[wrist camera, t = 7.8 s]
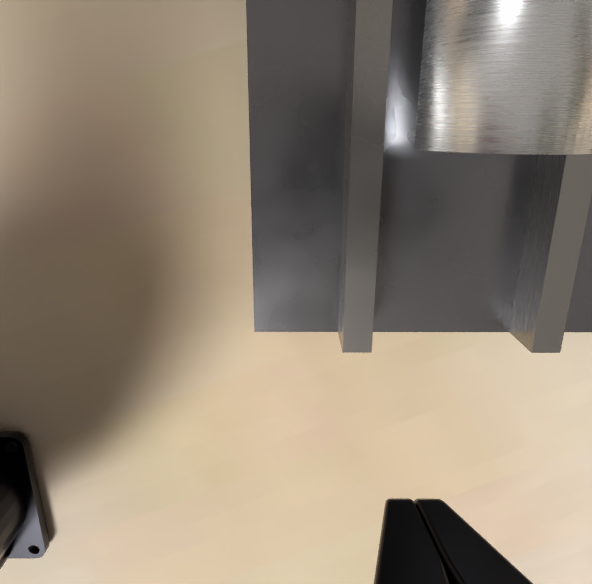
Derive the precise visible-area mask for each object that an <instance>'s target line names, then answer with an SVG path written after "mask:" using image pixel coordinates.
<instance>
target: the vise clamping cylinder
mask: <svg viewBox="0 0 592 584" xmlns="http://www.w3.org/2000/svg"><path fill="white" fill-rule="evenodd" d="M426 2H427V0H246V9H247V49H248V88H249V128H250V168H251V207H252V247H253V286H254V326H255V332H338V334H339V338H340V343H341V347H342V351H343V352H371V351H372V334H373V332H510V333H511V334H512V335H513V336H514V337H515V338H516V339H517V340H518V341H520V342H521V343H522V344H523V345H524V346H525V347H526V348H527V349H528V350H529V351H530V352H531V353H560V350H561V345H562V340H563V335H564V332H592V154H575V155H533V154H488V153H461V152H441V151H427V150H417V149H414V140H415V129H416V117H417V106H418V94H419V83H420V71H421V60H422V48H423V37H424V25H425V14H426Z"/></svg>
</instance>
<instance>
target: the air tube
mask: <svg viewBox="0 0 592 584" xmlns="http://www.w3.org/2000/svg"><path fill="white" fill-rule="evenodd" d="M414 149H417V150H427V151H441V152H461V153H488V154H533V155H575V154H592V0H427V2H426V14H425V25H424V37H423V48H422V60H421V71H420V83H419V94H418V106H417V117H416V129H415V140H414Z"/></svg>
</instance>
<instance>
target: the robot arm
mask: <svg viewBox="0 0 592 584" xmlns="http://www.w3.org/2000/svg"><path fill="white" fill-rule="evenodd" d="M11 442H12V443H15V444H16V445H17V446H14V445H13V444H12V443H11ZM48 547H49V538H48V534H47V529H46V524H45V519H44V514H43V509H42V504H41V500H40V495H39V490H38V485H37V480H36V475H35V470H34V466H33V461H32V456H31V451H30V446H29V441H28V439H27V437H26V436H25V435H24V434H22V433H20V432H15V431H0V569H1V567H2V566H3V564H4V563H5V561H6V560H7V558H40V557H42V556H43V555H44V554H45V552H46V550H47V548H48ZM374 584H533V583H532V582H531V581H530V580H528V579H527V578H526V577H525V576H524V575H523V574H522V573H521V572H520V571H519V570H518V569H517V568H515V567H514V566H513V565H512V564H511V563H510V562H509V561H508V560H507V559H506V558H505V557H504V556H502V555H501V554H500V553H499V552H498V551H497V550H496V549H495V548H494V547H493V546H492V545H491V544H489V543H488V542H487V541H486V540H485V539H484V538H483V537H482V536H481V535H480V534H479V533H478V532H476V531H475V530H474V529H473V528H472V527H471V526H470V525H469V524H468V523H467V522H466V521H464V520H463V519H462V518H461V517H460V516H459V515H458V514H457V513H456V512H455V511H454V510H453V509H451V508H450V507H449V506H448V505H447V504H446V503H445V502H444V501H442V500H440V499H416V500H415V501H412V500H411V499H388V500H387V501H386V503H385V509H384V516H383V523H382V530H381V537H380V544H379V551H378V558H377V565H376V572H375V579H374Z"/></svg>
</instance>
